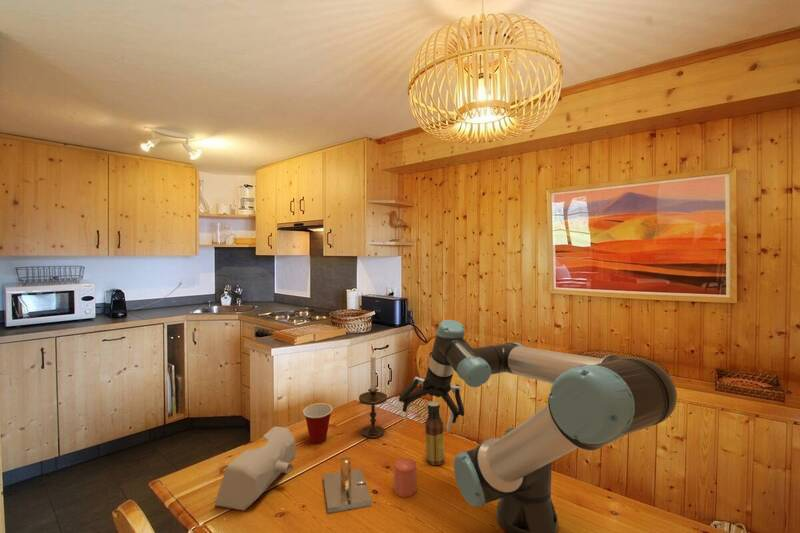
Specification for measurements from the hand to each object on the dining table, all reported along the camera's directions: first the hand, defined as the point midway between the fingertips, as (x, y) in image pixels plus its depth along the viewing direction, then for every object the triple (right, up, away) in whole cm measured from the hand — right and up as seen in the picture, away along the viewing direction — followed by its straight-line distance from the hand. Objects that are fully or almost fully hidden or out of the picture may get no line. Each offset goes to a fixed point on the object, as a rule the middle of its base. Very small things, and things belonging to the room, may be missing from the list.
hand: (426, 423), depth 119 cm
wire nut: (-7, -17, -7) cm, 19 cm away
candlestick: (-19, -16, +28) cm, 37 cm away
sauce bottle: (+3, -16, +9) cm, 19 cm away
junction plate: (-24, -17, -8) cm, 30 cm away
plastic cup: (-39, -16, +22) cm, 48 cm away
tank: (-49, -17, -4) cm, 52 cm away
